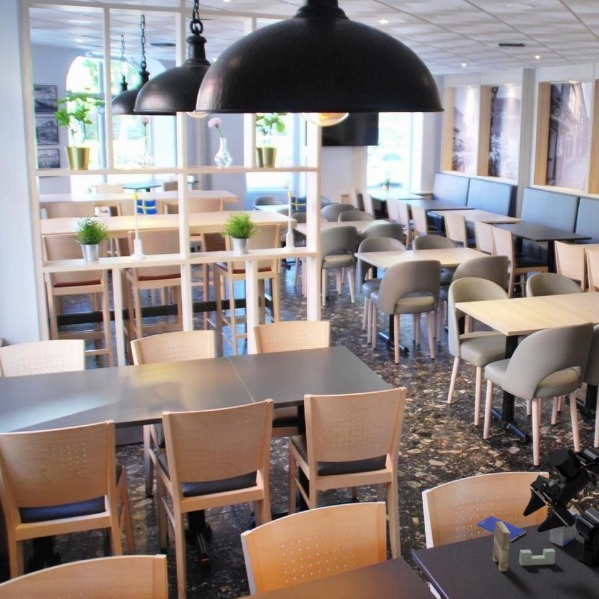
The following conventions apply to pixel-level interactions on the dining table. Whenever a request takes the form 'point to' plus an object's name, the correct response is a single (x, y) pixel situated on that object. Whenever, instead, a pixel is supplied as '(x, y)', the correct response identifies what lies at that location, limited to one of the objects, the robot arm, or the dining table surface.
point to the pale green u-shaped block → (537, 557)
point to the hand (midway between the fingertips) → (530, 523)
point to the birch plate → (501, 545)
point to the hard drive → (514, 531)
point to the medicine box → (563, 533)
